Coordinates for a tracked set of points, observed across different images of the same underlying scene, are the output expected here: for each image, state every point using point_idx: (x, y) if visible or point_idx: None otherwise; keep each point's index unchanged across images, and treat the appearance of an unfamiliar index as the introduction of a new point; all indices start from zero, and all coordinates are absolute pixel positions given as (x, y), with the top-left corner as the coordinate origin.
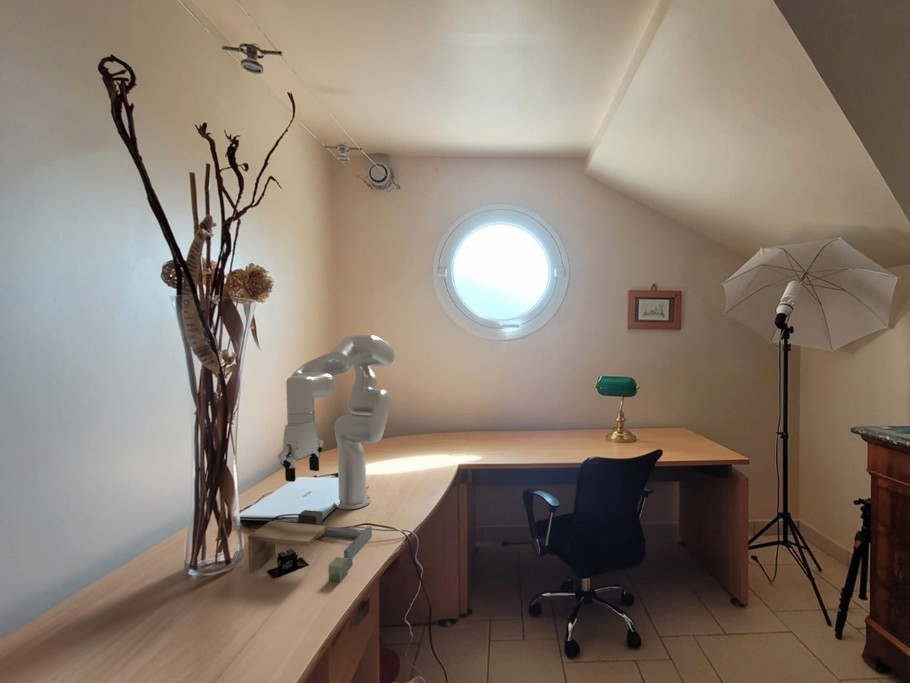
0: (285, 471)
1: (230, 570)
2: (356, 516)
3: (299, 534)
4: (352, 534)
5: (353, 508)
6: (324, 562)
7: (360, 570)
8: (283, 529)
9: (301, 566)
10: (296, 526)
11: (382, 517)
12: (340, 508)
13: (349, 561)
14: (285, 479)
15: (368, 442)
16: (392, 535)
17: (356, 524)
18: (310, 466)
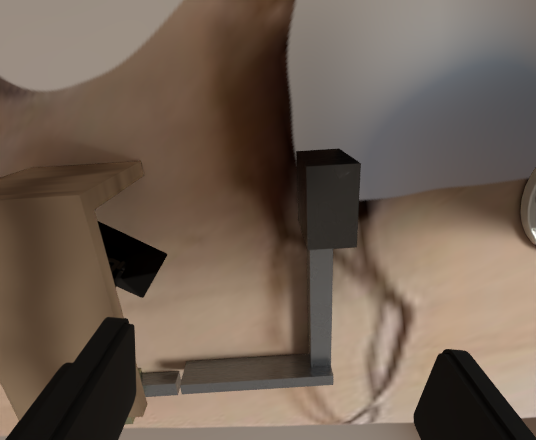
0: (10, 433)
1: (10, 93)
2: (460, 263)
3: (43, 376)
4: (309, 330)
5: (524, 228)
6: (168, 322)
7: (169, 403)
8: (42, 304)
9: (125, 285)
10: (88, 331)
11: (454, 336)
12: (529, 178)
13: (166, 394)
14: (103, 320)
15: None
16: (343, 398)
17: (398, 291)
18: (456, 392)
